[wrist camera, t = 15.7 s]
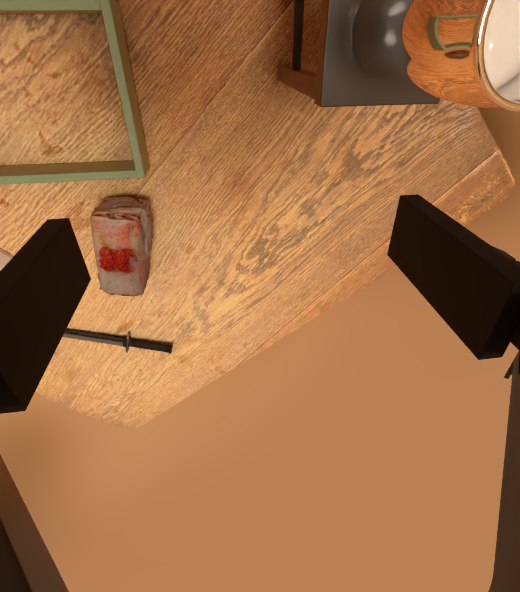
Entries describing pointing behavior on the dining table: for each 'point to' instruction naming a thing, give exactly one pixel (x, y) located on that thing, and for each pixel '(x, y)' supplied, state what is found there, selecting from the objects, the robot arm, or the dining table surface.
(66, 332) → the knife
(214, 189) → the dining table surface
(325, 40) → the stool
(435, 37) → the beer glass
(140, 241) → the food item
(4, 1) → the green rectangular open frame
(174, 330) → the dining table surface
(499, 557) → the robot arm
